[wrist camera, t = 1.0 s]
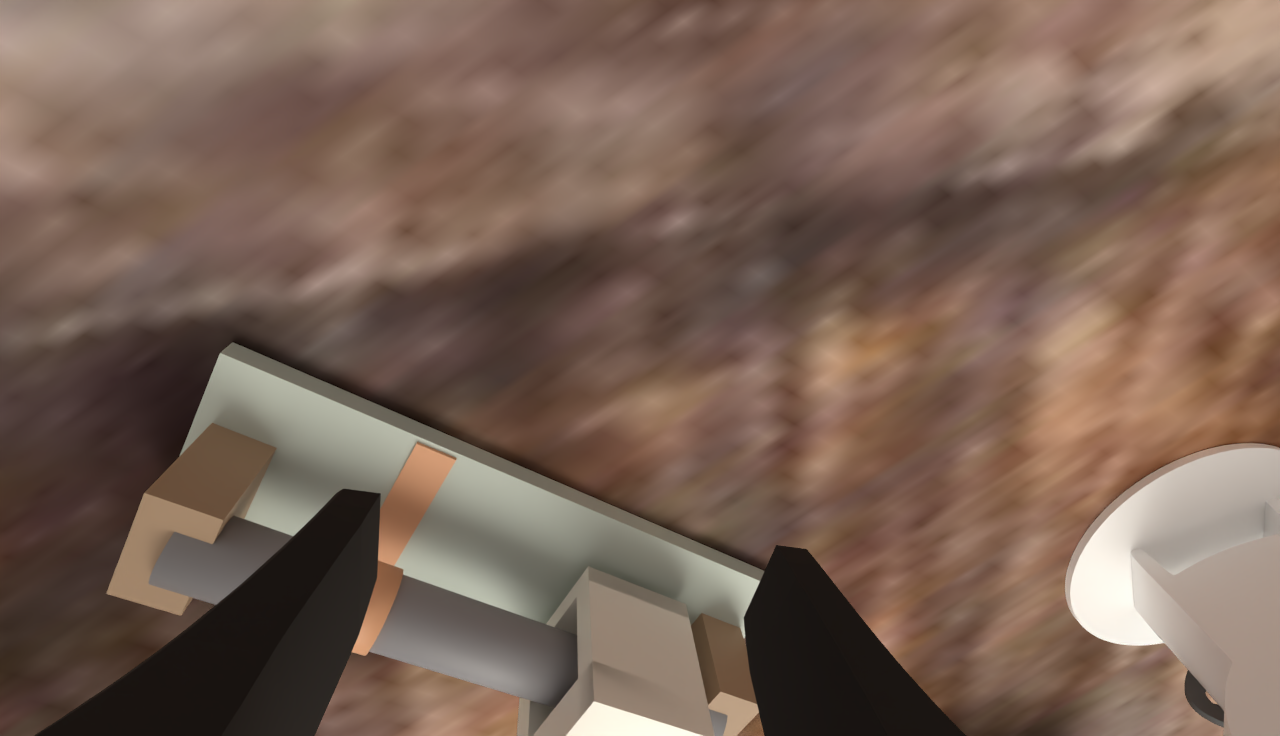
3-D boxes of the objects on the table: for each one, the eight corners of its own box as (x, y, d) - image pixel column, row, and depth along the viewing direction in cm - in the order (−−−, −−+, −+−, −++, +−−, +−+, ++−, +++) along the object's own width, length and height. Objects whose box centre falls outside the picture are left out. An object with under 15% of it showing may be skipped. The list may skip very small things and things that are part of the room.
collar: (686, 604, 25) (715, 739, 20) (617, 686, 27) (628, 830, 22) (588, 566, 23) (593, 701, 19) (522, 655, 25) (512, 801, 20)
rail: (779, 577, 27) (824, 686, 22) (664, 708, 30) (681, 828, 25) (232, 342, 20) (131, 429, 15) (152, 542, 23) (47, 666, 18)
